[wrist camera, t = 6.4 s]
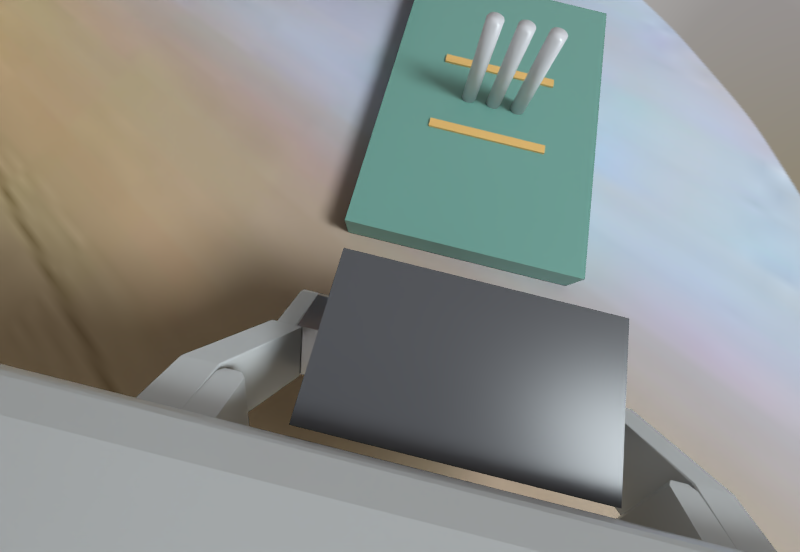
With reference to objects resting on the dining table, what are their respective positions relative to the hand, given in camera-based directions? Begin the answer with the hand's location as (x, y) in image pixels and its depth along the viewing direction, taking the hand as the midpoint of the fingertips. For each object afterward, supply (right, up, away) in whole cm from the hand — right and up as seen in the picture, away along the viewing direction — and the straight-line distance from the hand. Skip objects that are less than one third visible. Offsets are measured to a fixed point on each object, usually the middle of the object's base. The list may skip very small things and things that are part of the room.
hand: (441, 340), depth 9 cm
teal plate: (+4, +11, +9) cm, 15 cm away
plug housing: (0, -2, +5) cm, 5 cm away
